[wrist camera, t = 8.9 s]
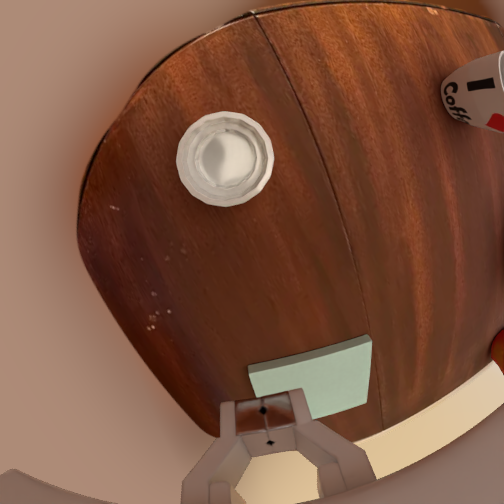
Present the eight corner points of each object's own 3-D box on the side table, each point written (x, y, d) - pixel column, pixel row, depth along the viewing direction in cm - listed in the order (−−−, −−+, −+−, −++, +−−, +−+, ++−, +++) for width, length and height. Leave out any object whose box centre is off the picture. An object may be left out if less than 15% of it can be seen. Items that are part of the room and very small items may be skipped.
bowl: (198, 203, 22) (189, 216, 18) (181, 132, 20) (167, 125, 16) (271, 187, 22) (282, 194, 18) (255, 115, 20) (262, 103, 16)
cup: (419, 79, 19) (488, 62, 10) (453, 57, 18) (512, 43, 9) (454, 145, 22) (523, 152, 12) (483, 116, 20) (543, 118, 11)
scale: (264, 423, 33) (266, 440, 30) (244, 365, 28) (245, 384, 26) (362, 397, 32) (370, 412, 30) (367, 333, 28) (378, 349, 26)
